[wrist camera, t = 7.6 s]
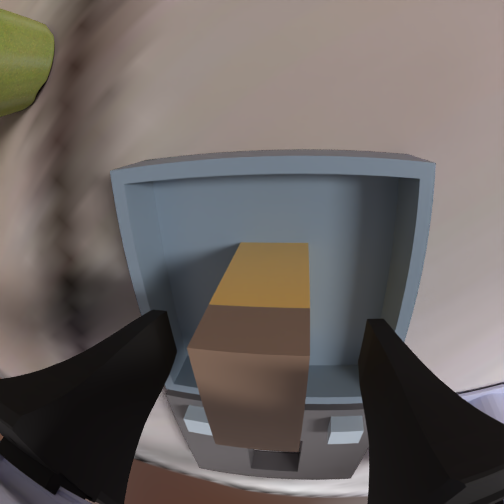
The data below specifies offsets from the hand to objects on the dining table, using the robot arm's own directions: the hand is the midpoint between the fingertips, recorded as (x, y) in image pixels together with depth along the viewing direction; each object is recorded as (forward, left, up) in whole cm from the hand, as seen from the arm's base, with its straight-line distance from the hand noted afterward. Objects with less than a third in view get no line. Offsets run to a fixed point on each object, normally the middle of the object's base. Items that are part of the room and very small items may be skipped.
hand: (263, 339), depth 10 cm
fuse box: (0, +14, -5) cm, 15 cm away
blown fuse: (0, 0, -4) cm, 4 cm away
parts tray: (0, 0, -5) cm, 5 cm away
